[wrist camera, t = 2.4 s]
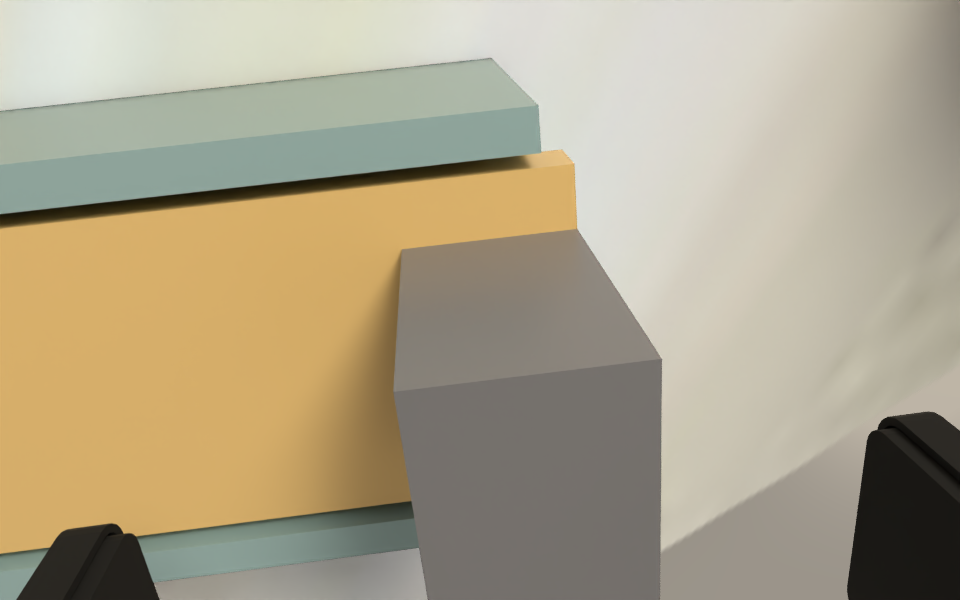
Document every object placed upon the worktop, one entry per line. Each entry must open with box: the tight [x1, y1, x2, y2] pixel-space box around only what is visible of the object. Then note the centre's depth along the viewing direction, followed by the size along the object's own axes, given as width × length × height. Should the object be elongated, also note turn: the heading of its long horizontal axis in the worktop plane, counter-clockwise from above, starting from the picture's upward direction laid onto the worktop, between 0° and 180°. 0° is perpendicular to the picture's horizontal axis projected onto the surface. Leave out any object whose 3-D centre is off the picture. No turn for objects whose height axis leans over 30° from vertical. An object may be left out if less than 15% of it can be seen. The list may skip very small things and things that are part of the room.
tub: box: [0, 58, 541, 600], centre depth 17 cm, size 14×9×8 cm, turn 95°
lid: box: [0, 150, 662, 600], centre depth 12 cm, size 13×7×6 cm, turn 95°
